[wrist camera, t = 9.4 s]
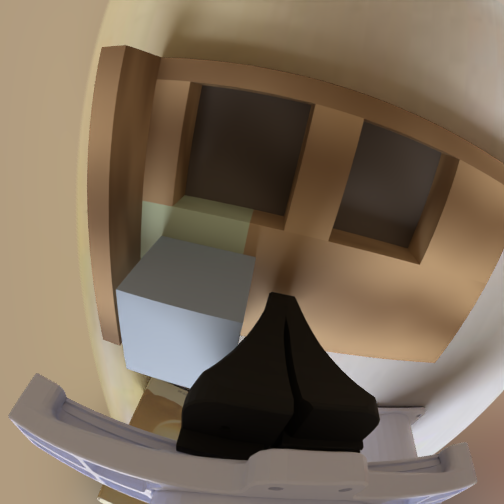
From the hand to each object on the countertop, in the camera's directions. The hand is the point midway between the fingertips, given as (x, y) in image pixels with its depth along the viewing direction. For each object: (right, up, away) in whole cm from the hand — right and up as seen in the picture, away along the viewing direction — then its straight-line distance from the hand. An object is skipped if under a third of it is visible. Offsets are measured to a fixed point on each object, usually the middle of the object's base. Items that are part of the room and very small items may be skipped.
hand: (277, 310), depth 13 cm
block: (-4, +1, +1) cm, 4 cm away
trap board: (+3, +4, +1) cm, 5 cm away
